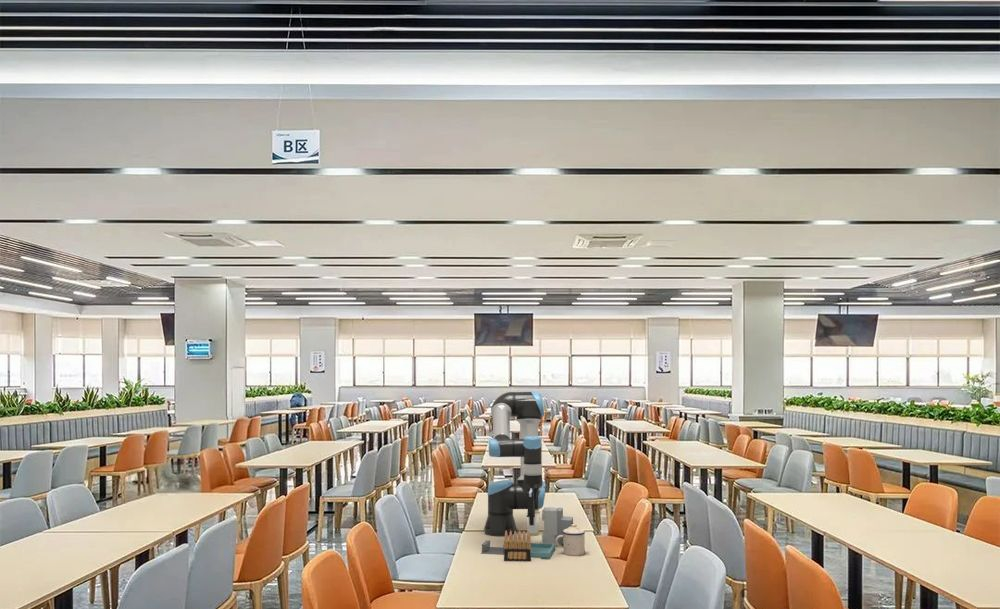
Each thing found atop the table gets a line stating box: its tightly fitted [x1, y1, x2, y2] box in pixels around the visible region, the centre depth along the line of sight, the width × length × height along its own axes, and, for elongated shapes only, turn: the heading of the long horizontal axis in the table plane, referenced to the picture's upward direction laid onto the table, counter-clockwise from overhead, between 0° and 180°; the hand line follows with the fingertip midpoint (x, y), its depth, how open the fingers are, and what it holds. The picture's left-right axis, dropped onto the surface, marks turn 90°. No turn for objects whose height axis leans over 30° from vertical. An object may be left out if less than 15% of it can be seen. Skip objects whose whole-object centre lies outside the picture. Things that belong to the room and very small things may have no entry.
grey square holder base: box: [480, 540, 509, 556], centre depth 310 cm, size 12×11×4 cm
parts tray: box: [517, 542, 556, 560], centre depth 307 cm, size 16×16×2 cm
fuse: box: [526, 509, 540, 537], centre depth 308 cm, size 5×5×10 cm
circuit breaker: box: [541, 506, 578, 548], centre depth 322 cm, size 8×14×15 cm, turn 78°
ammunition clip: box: [503, 530, 532, 562], centre depth 295 cm, size 11×2×12 cm, turn 85°
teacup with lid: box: [556, 523, 586, 557], centre depth 307 cm, size 12×9×12 cm
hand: (533, 531), depth 307 cm, fingers closed on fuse, 5 cm apart
